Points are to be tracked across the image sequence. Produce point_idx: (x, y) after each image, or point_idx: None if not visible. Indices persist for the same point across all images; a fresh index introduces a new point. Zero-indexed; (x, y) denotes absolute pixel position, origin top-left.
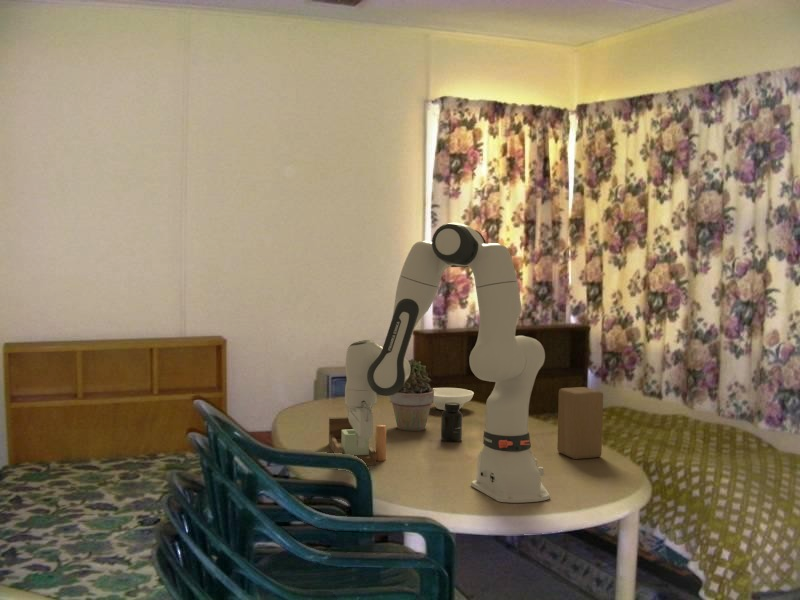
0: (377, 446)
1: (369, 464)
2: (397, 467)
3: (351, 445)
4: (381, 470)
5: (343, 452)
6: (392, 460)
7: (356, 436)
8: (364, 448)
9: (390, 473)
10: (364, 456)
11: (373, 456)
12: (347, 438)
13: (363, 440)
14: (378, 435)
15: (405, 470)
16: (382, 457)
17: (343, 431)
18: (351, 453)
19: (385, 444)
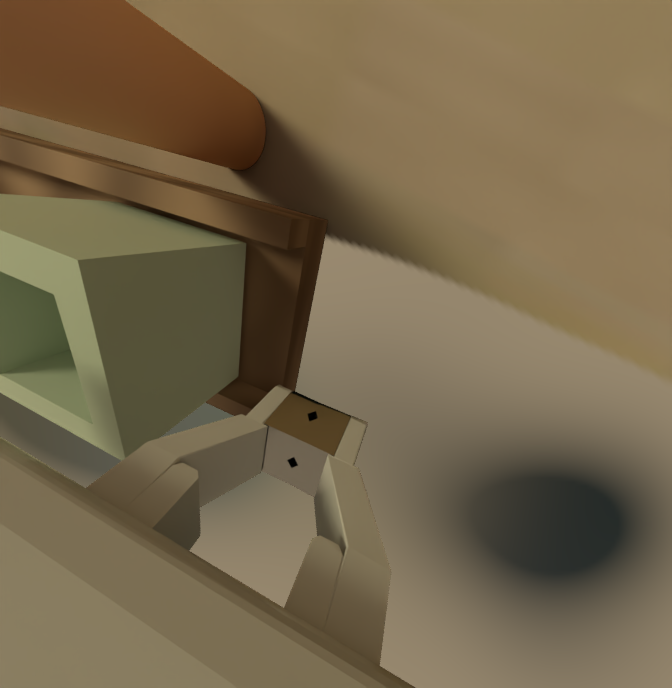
0: (171, 140)
1: (318, 260)
2: (473, 64)
3: (195, 376)
4: (469, 245)
5: (236, 403)
6: (269, 28)
7: (223, 490)
8: (213, 282)
9: (595, 216)
10: (259, 278)
11: (302, 237)
12: (151, 430)
13: (360, 498)
14: (38, 86)
15: (628, 4)
16: (251, 122)
17: (30, 405)
18: (231, 351)
19: (149, 23)
